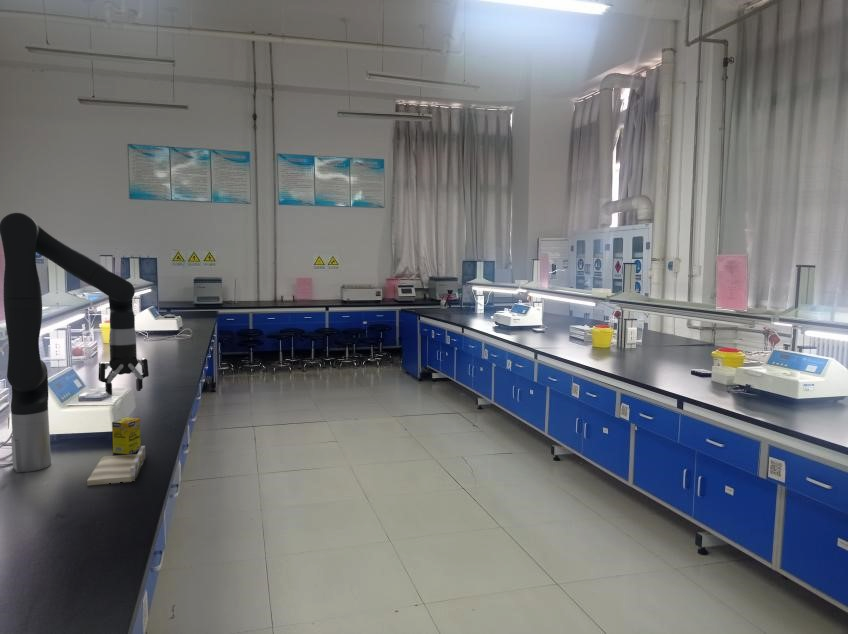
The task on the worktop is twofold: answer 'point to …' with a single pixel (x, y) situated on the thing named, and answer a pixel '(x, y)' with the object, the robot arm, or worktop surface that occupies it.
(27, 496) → the worktop surface
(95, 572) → the worktop surface
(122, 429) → the supplement box
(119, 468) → the cream serving tray
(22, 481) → the worktop surface
